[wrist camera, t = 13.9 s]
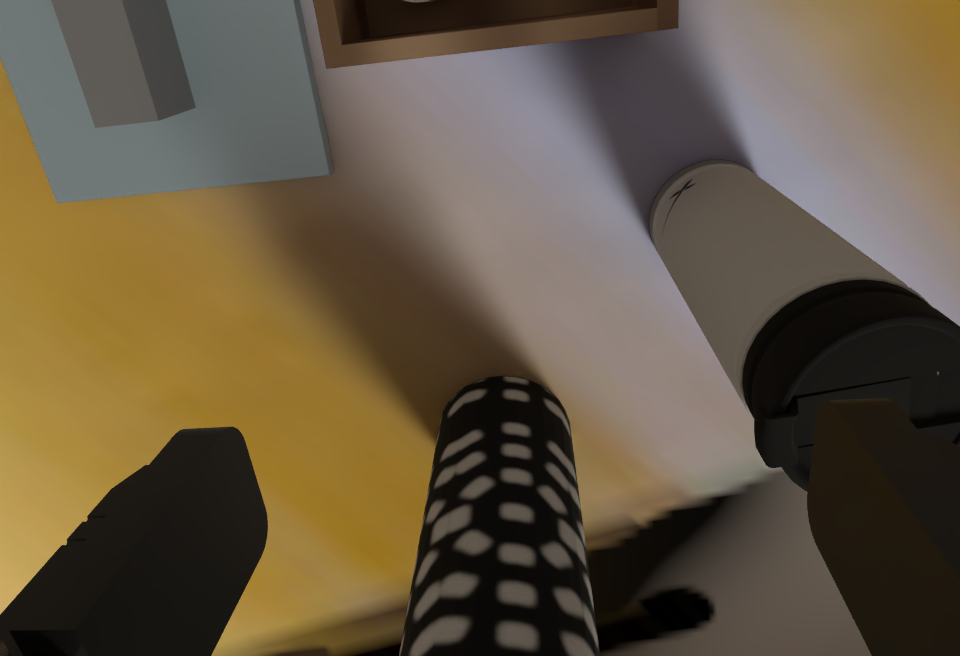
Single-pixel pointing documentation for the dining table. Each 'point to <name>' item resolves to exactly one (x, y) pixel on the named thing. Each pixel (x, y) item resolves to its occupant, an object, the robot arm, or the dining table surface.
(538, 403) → the spotted tube
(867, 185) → the dining table surface
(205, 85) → the lid
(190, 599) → the robot arm
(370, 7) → the box
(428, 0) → the white ball
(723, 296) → the travel mug
